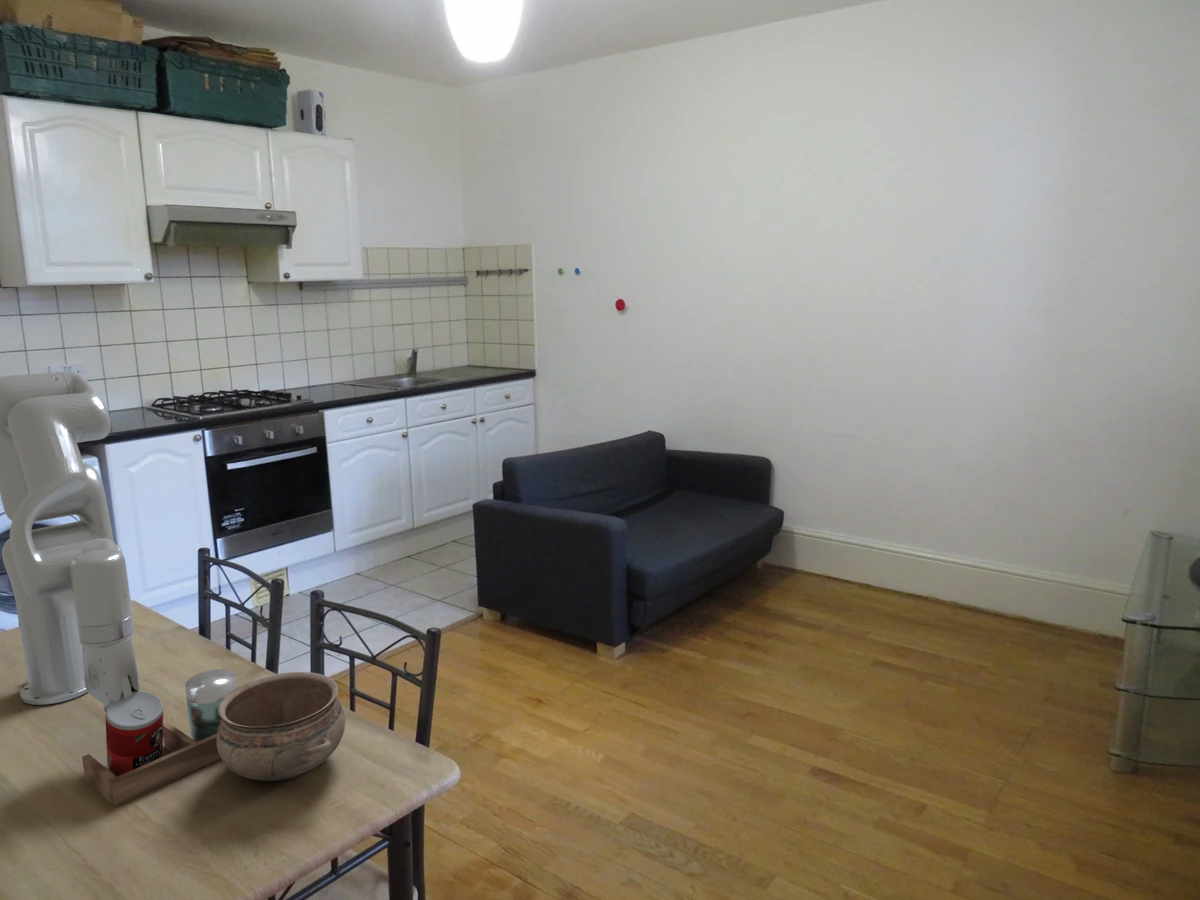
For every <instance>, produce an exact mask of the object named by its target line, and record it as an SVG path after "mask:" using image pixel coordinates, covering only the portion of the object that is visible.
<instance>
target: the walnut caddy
mask: <svg viewBox="0 0 1200 900" xmlns="http://www.w3.org/2000/svg"><path fill="white" fill-rule="evenodd" d="M216 743H217V734H214V735H212V736H210V737H207V738H205V739H203V740H200V741H198V742H196V741H194V740H193V739H192V738H191V737H190V736H189V735H187V734H186V733H184V732H183V731H182V730H180V729H179V728H177V727H176V726H174V725H173V724H171V723H170V722H169V721H167V722H163V748H166V749H167V750H168V751H170V752H171V753H169V754H166V755H164V756H162V757H161V758H159V759H157V760H154V761H152V762H150V763H148V764H145V765H143V766H141V767H138V768H136V769H134V770H131V771H129V772H127V773H125V774H122V775H120V776H117V775H115V774H114V773H113V772H112V771H111V770H109V769H108V768H106V767H105V766H104V765H103V764H101V763H100V762H99V761H98V760H97V759H96V758H95V757H94V756H92V755H91V754H90V753H88V754H86V755H83V756H81V759H82V766H83V772H84V779H85V781H86V782H87V783H88V784H89V785H91V787H93V788H94V789H95V790H96V791H97V792H98V793H99V794H100V795H101V796H103V797H104V798H105V799H106V800H107V801H108V802H109V803H110V804H112V806H114V807H115V808H117V807H118V806H121V805H123V804H125V803H127V802H129V801H132V800H134V799H136V798H138V797H140V796H143V795H145V794H147V793H149V792H151V791H153V790H155V789H158V788H160V787H162V786H164V785H167V784H168V783H171V782H173V781H175V780H177V779H179V778H181V777H184V776H186V775H189V774H190V773H192V772H195V771H197V770H199V769H201V768H203V767H206V766H208V765H210V764H212V763H214V762H216V761H218V760H222V759H221V757H220V755H219V753H218V750H217V744H216Z"/></svg>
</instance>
